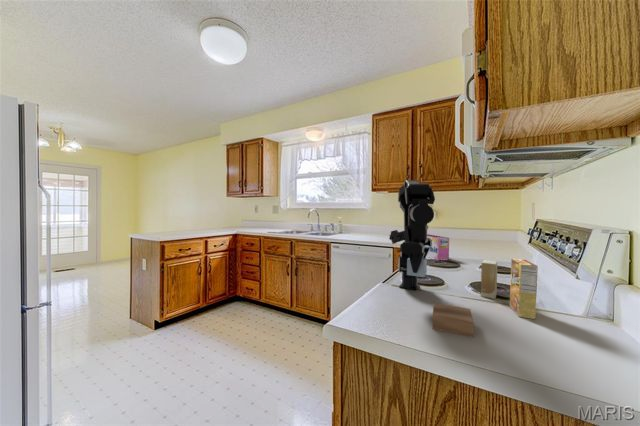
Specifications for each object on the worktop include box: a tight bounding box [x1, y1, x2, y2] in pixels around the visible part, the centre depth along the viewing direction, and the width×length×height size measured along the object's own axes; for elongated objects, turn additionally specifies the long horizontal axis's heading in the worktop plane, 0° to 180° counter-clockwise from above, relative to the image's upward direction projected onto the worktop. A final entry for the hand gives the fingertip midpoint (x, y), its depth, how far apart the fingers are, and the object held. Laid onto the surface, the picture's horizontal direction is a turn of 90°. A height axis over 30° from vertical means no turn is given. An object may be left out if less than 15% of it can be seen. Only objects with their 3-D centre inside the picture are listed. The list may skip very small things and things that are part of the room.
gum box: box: [425, 233, 450, 261], centre depth 160 cm, size 24×8×14 cm, turn 14°
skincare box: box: [480, 259, 498, 300], centre depth 89 cm, size 6×4×12 cm
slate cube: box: [407, 257, 428, 278], centre depth 80 cm, size 5×5×5 cm
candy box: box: [509, 258, 539, 320], centre depth 75 cm, size 9×4×15 cm, turn 157°
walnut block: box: [432, 302, 475, 338], centre depth 66 cm, size 9×9×4 cm
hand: (416, 270), depth 80 cm, fingers closed on slate cube, 5 cm apart
